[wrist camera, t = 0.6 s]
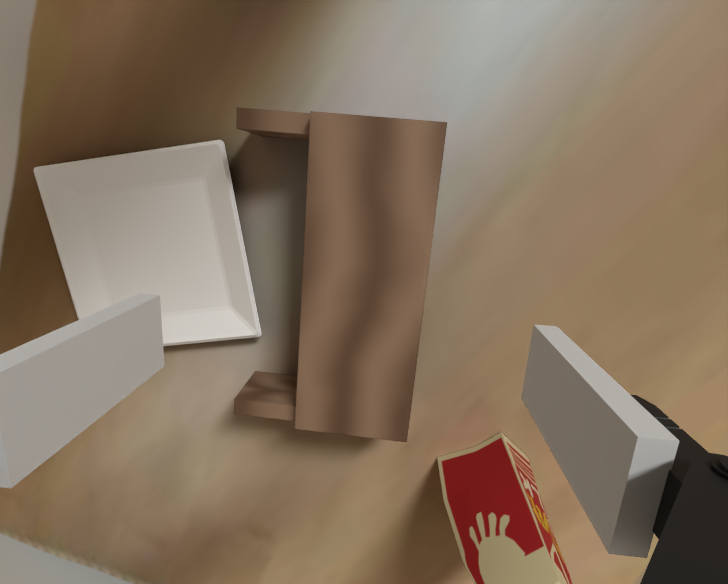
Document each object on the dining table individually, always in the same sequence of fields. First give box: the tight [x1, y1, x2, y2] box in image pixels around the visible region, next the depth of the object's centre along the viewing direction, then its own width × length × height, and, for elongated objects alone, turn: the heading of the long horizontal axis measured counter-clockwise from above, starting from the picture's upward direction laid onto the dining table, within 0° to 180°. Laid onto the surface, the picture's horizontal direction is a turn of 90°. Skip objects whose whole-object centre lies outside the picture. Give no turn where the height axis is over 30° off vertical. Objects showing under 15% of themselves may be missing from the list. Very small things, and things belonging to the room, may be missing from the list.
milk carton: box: [437, 433, 572, 584], centre depth 37 cm, size 9×9×20 cm
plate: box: [33, 140, 262, 346], centre depth 42 cm, size 19×19×2 cm
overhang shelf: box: [234, 108, 447, 442], centre depth 39 cm, size 16×26×7 cm, turn 175°
